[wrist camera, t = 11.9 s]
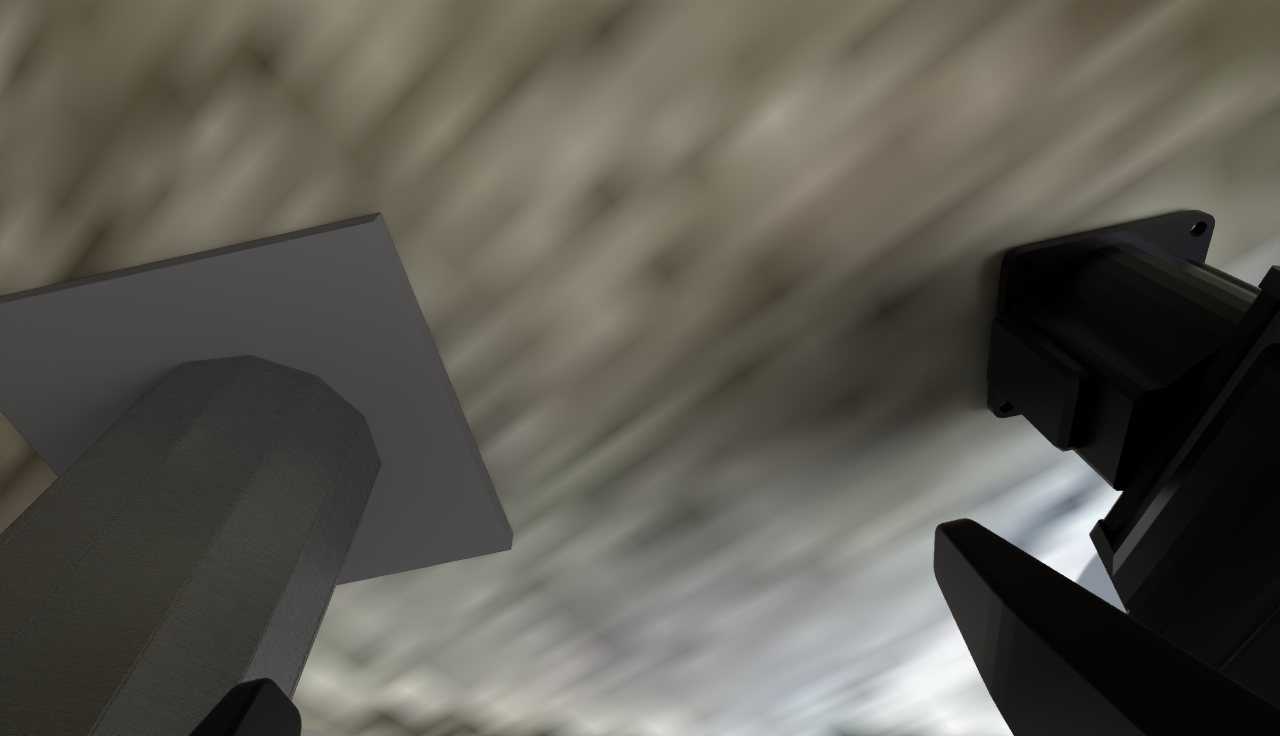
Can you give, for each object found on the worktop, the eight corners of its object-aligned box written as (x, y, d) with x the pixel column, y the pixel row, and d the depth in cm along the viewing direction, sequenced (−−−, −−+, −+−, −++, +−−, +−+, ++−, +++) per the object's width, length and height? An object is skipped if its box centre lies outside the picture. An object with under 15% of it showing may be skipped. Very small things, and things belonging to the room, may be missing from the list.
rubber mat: (380, 212, 19) (347, 253, 16) (512, 533, 26) (505, 601, 23) (-55, 308, 19) (-159, 364, 16) (190, 600, 26) (144, 674, 23)
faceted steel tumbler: (245, 313, 19) (-133, 707, 9) (424, 466, 22) (298, 880, 12) (88, 437, 21) (-383, 889, 11) (276, 562, 24) (57, 998, 14)
